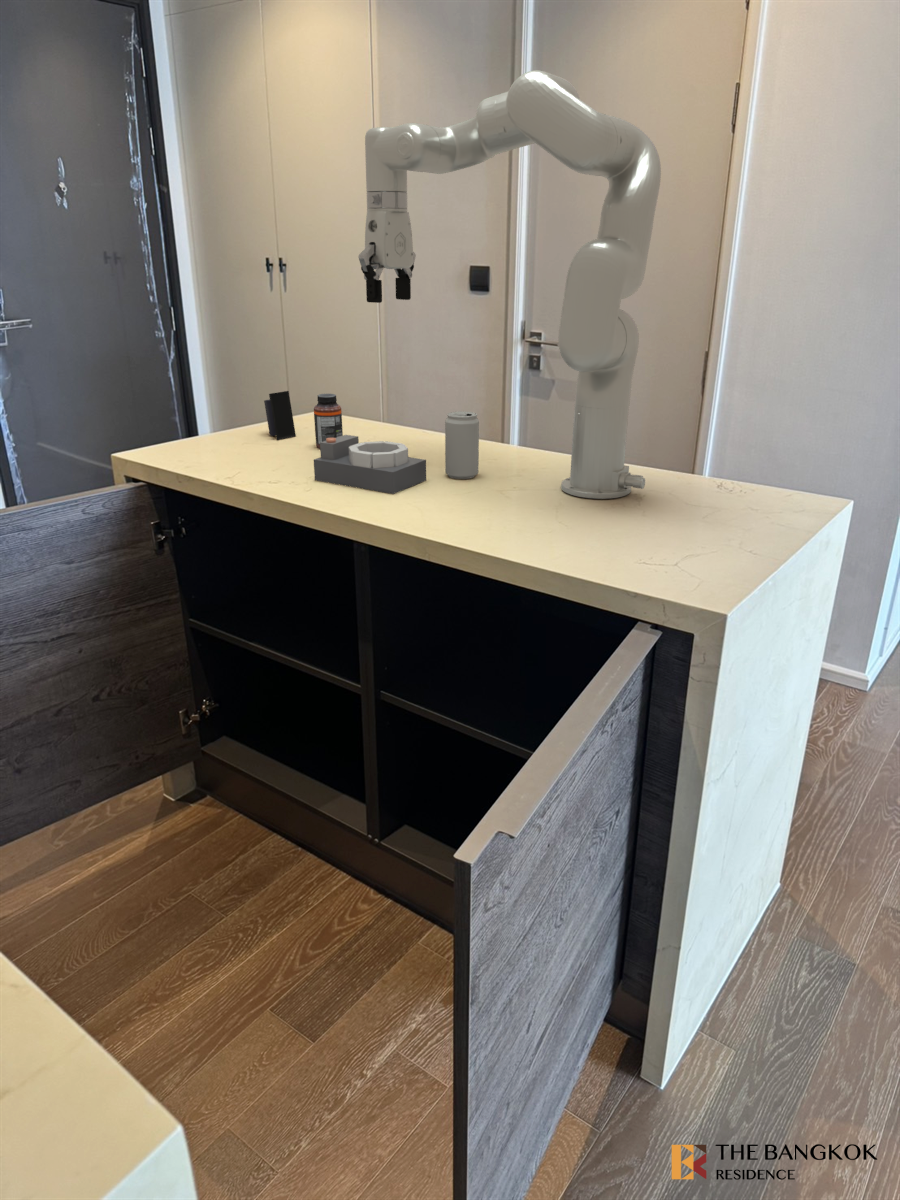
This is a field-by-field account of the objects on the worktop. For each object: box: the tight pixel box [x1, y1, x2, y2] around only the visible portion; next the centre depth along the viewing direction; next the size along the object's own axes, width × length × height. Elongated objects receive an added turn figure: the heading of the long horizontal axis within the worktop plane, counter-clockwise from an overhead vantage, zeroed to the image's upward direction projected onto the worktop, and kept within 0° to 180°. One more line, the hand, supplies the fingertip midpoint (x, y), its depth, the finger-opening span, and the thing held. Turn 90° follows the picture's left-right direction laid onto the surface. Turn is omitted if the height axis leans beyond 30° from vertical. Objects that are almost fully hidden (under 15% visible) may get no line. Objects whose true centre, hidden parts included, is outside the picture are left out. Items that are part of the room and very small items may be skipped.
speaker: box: [263, 390, 297, 441], centre depth 197 cm, size 8×6×10 cm
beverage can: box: [444, 411, 480, 480], centre depth 164 cm, size 6×6×12 cm
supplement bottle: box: [313, 393, 344, 449], centre depth 187 cm, size 6×6×11 cm
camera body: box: [313, 434, 427, 495], centre depth 162 cm, size 18×11×8 cm, turn 59°
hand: (389, 300), depth 166 cm, fingers open, 9 cm apart
